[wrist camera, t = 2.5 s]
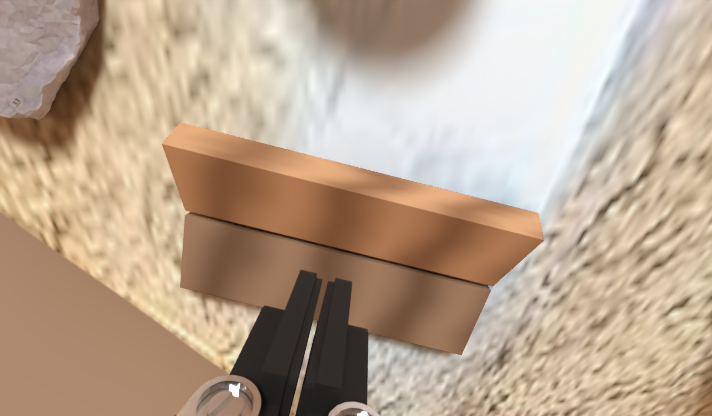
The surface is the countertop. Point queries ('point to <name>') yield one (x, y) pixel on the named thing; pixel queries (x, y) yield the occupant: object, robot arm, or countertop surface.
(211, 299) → the countertop surface
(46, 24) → the stone block
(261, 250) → the walnut board
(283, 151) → the chestnut plank
